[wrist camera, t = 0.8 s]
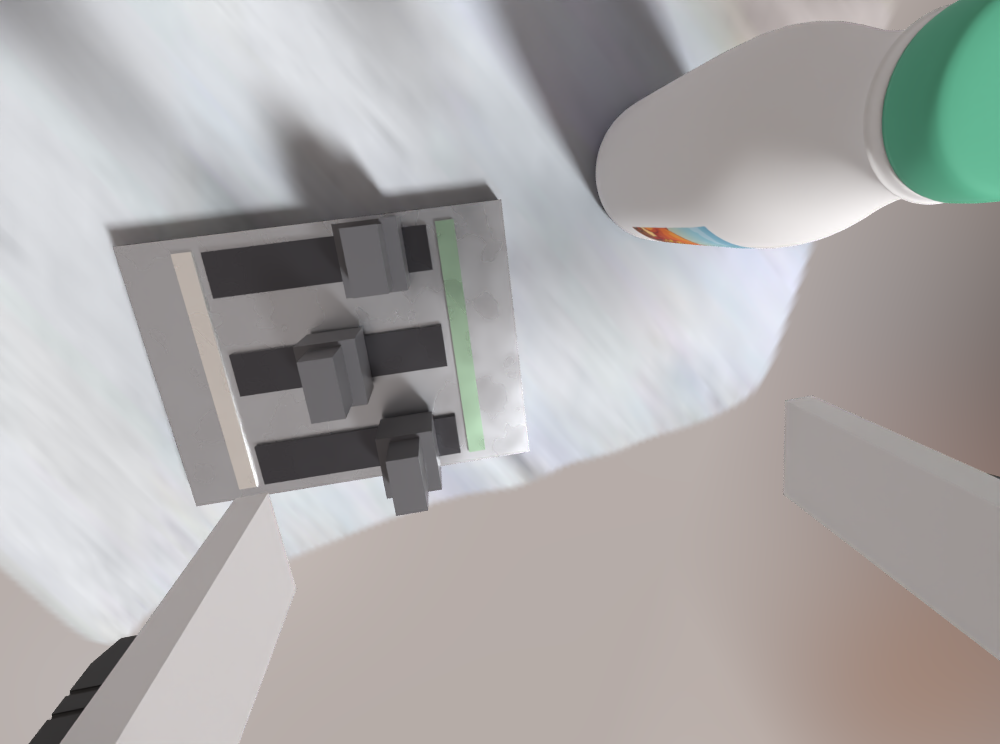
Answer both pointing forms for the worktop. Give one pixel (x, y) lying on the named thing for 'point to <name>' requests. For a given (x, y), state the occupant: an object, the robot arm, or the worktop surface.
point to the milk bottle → (811, 132)
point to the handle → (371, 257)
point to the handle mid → (334, 373)
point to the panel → (315, 309)
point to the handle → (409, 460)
